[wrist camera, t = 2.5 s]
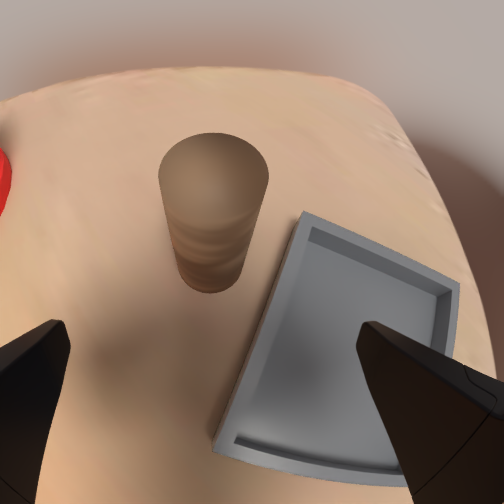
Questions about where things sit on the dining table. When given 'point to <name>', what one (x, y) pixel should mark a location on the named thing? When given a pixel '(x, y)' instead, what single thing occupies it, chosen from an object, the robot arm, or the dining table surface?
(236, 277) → the brown upright cylinder
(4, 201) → the container
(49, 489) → the dining table surface
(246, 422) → the tray
